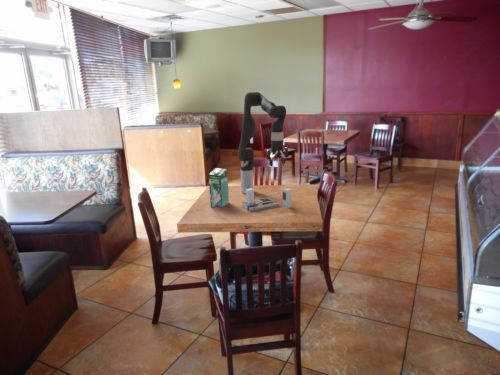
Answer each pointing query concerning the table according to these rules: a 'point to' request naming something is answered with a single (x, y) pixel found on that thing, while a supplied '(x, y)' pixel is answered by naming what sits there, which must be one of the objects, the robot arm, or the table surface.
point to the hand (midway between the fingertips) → (277, 165)
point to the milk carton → (218, 187)
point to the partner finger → (250, 196)
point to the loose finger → (287, 197)
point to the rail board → (261, 205)
